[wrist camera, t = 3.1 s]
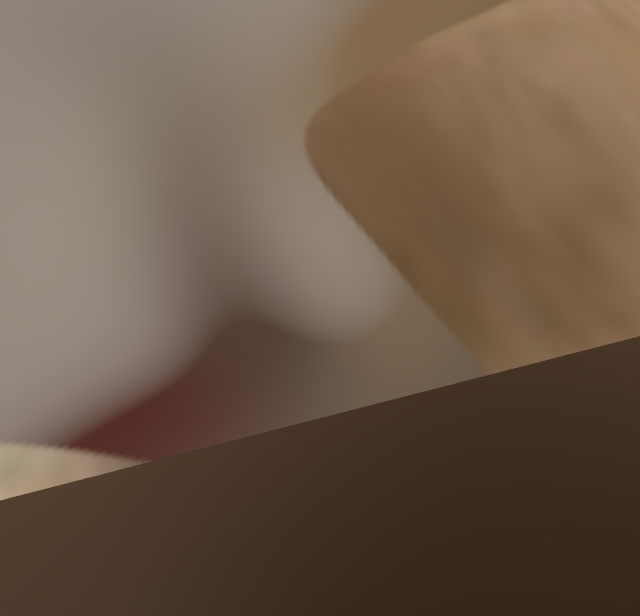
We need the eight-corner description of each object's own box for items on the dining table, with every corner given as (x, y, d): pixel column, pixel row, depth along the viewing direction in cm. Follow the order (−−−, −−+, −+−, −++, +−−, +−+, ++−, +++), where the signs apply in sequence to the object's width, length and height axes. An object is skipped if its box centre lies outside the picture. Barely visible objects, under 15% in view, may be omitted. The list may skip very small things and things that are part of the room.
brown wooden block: (492, 586, 15) (1277, 992, 2) (277, 646, 14) (-92, 1471, 2) (450, 457, 16) (826, 288, 4) (252, 509, 15) (-75, 520, 3)
